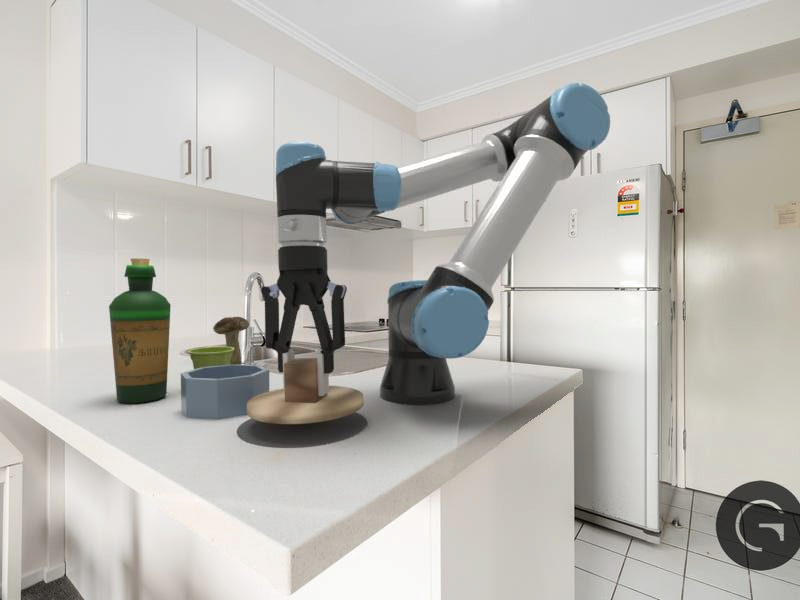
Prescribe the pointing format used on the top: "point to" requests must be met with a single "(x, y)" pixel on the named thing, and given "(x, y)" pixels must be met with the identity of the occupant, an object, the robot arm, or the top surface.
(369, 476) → the top surface
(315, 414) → the lid
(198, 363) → the plant pot
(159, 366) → the bottle
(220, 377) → the bowl
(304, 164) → the robot arm
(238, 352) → the mushroom
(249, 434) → the mat
